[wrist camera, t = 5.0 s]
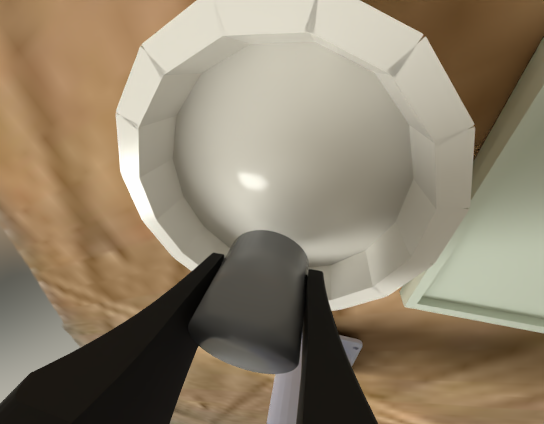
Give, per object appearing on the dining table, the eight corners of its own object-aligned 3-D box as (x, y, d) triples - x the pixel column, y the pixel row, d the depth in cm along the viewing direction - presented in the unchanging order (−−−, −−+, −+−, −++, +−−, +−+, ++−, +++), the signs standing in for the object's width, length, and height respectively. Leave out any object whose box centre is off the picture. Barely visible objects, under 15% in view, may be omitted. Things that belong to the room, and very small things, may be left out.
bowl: (379, 283, 15) (390, 332, 13) (196, 251, 18) (171, 285, 15) (510, -1, 7) (634, -48, 4) (126, 22, 10) (44, 3, 7)
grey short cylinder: (305, 292, 12) (295, 383, 9) (235, 279, 13) (200, 357, 10) (313, 237, 10) (304, 332, 6) (226, 224, 11) (174, 302, 7)
